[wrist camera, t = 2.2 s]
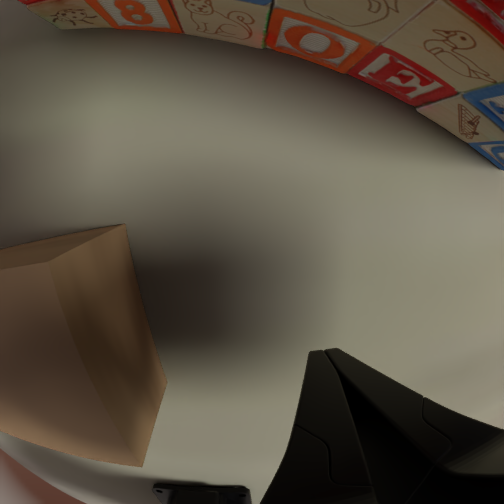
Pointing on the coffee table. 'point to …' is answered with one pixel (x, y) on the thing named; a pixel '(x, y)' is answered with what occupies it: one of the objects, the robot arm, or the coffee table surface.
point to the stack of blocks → (348, 46)
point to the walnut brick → (77, 348)
